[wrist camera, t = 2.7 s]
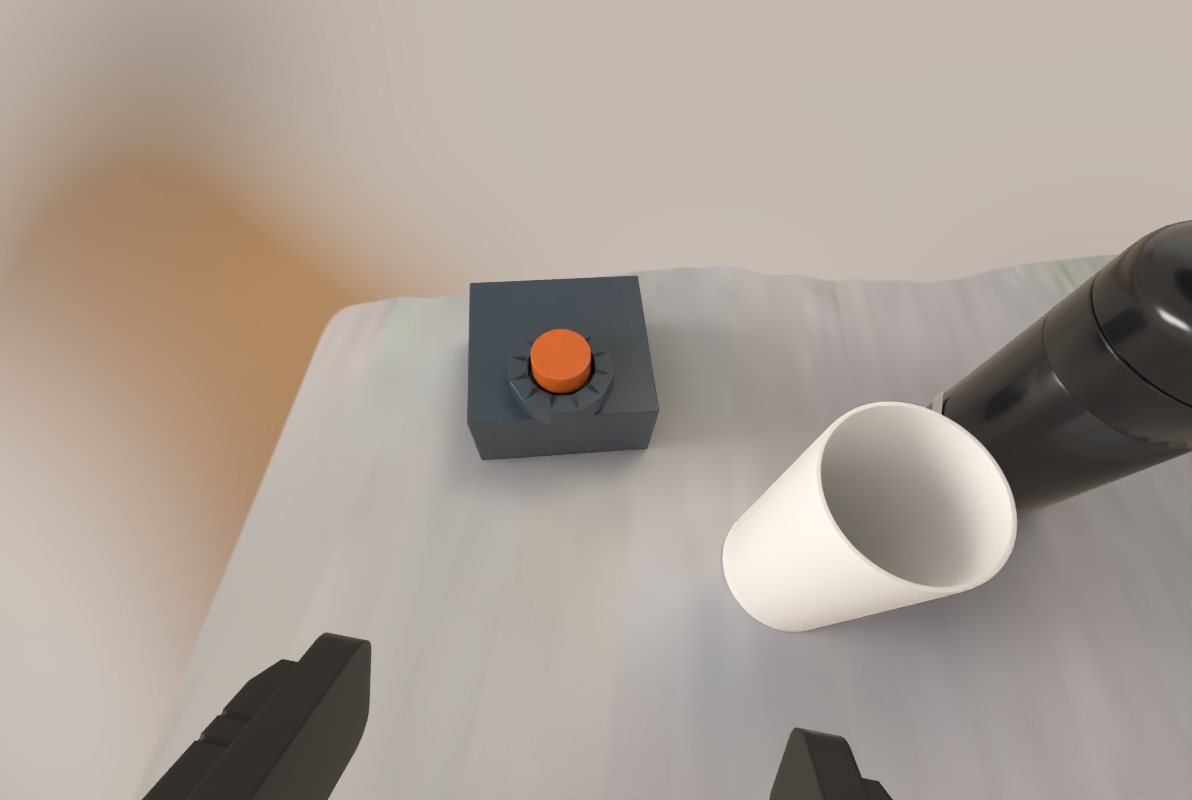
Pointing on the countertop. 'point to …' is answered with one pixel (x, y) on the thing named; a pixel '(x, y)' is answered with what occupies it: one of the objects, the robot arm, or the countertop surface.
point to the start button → (561, 361)
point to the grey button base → (542, 418)
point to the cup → (872, 521)
